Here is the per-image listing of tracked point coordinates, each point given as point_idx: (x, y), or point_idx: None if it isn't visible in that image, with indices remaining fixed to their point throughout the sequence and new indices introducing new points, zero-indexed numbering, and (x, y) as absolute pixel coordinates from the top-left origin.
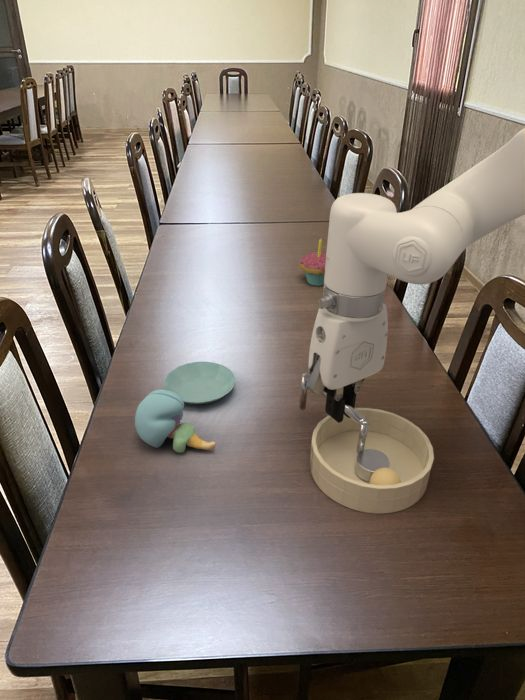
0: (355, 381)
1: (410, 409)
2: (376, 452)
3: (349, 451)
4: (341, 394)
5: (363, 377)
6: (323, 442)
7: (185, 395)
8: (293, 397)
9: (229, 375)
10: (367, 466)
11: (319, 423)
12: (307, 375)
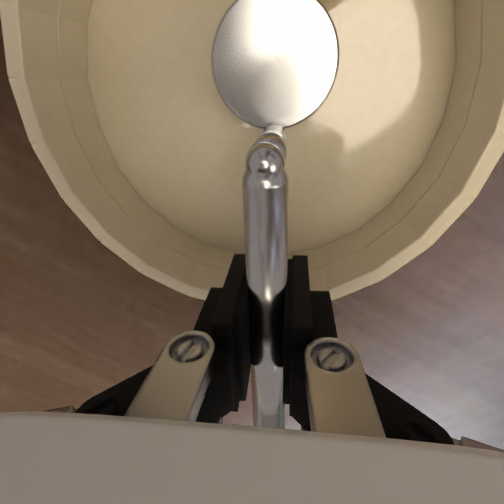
0: (272, 438)
1: (2, 226)
2: (234, 90)
3: None
4: (312, 364)
5: (164, 438)
6: (306, 249)
7: None
8: (250, 394)
9: None
10: (319, 42)
11: (334, 296)
12: None
